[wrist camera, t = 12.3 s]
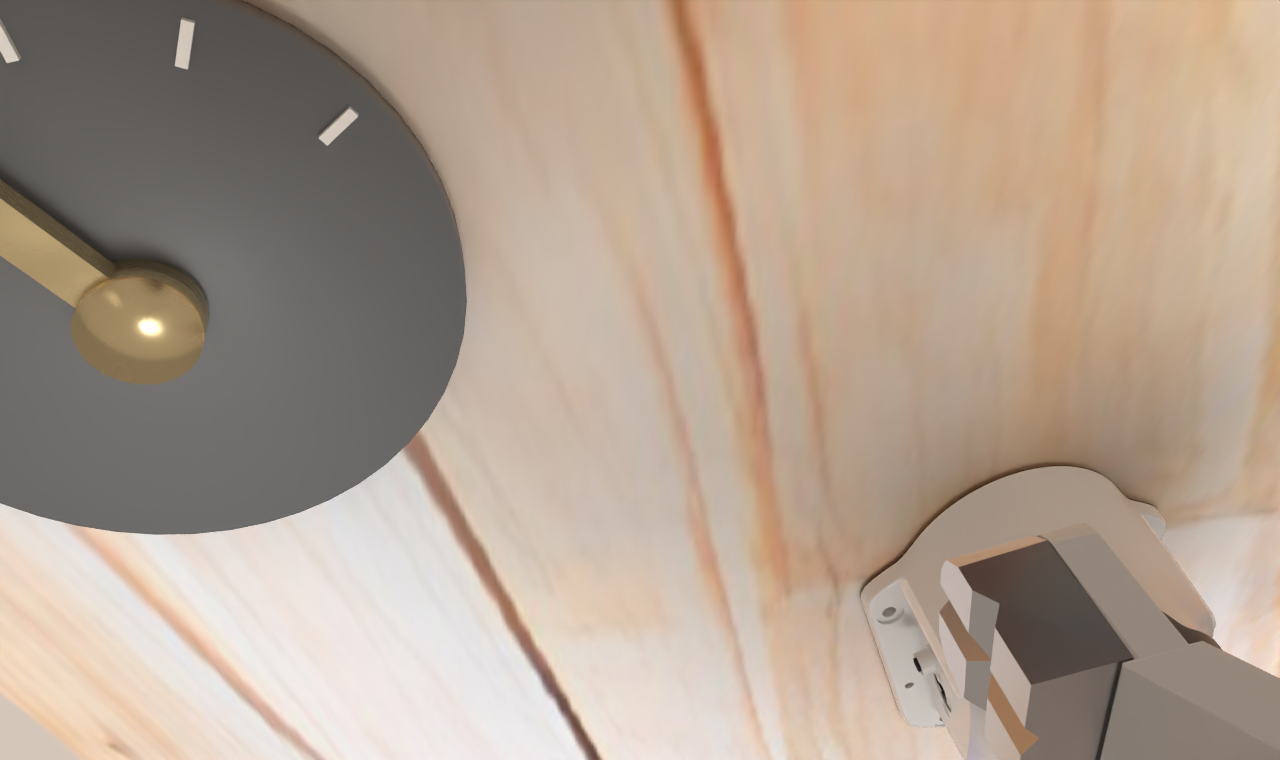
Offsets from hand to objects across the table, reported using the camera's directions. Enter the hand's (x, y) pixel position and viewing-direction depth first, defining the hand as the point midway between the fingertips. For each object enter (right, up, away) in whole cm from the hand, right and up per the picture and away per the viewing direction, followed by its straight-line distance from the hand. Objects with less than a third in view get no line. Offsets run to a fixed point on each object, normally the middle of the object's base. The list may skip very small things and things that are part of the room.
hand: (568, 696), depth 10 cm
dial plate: (-18, +7, +30) cm, 36 cm away
